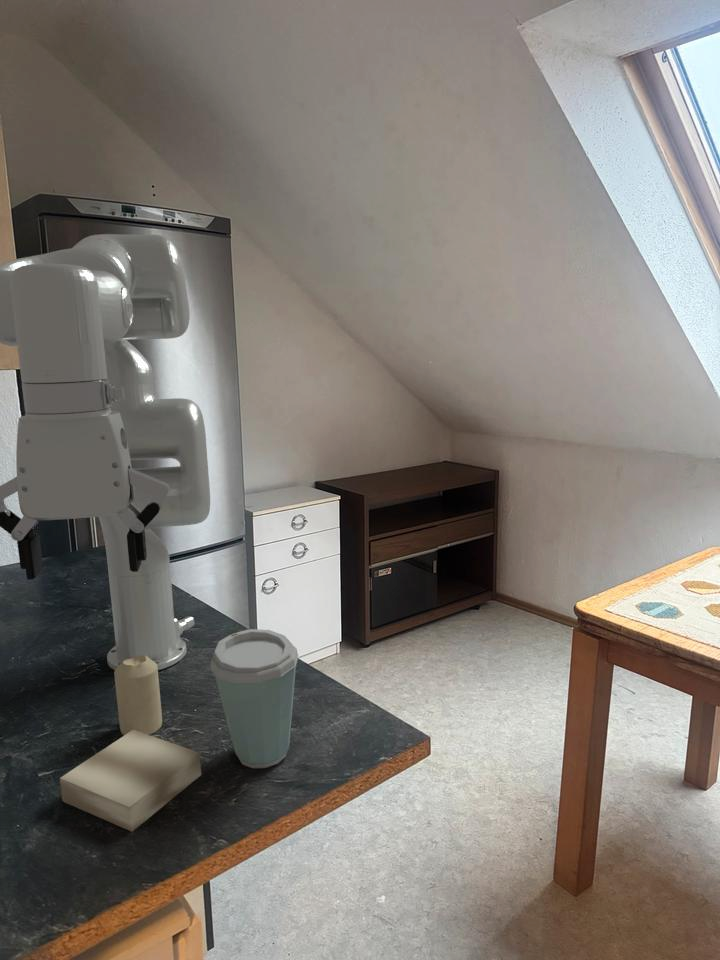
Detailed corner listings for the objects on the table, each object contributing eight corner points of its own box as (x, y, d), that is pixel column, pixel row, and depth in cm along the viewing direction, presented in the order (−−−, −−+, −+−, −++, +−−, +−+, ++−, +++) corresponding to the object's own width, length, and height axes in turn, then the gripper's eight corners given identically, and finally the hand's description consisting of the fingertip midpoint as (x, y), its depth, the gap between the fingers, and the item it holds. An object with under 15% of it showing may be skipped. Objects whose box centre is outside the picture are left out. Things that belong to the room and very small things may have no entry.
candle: (147, 711, 98) (141, 646, 96) (170, 724, 95) (164, 657, 93) (112, 729, 94) (104, 660, 92) (135, 743, 91) (128, 672, 89)
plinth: (135, 750, 89) (133, 729, 88) (201, 774, 84) (199, 752, 83) (62, 801, 79) (59, 778, 79) (132, 831, 74) (129, 807, 74)
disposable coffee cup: (320, 754, 87) (316, 643, 84) (249, 793, 80) (241, 674, 77) (270, 722, 95) (264, 619, 92) (201, 755, 88) (192, 645, 85)
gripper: (165, 393, 71) (178, 553, 75) (-16, 400, 68) (6, 566, 72) (156, 400, 64) (171, 577, 67) (-47, 408, 61) (-20, 591, 65)
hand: (86, 571), depth 70 cm, fingers open, 9 cm apart
